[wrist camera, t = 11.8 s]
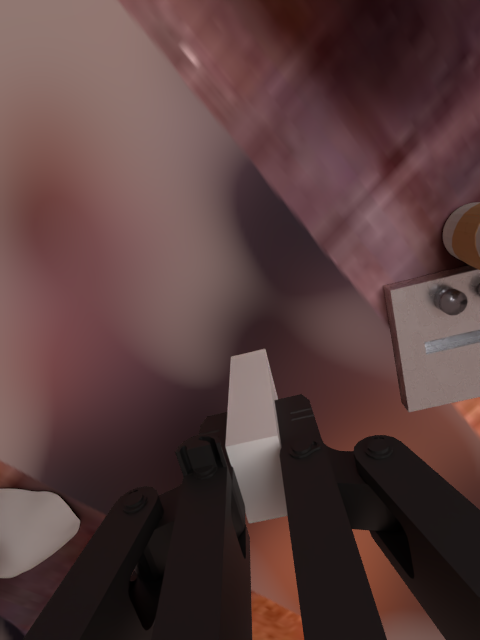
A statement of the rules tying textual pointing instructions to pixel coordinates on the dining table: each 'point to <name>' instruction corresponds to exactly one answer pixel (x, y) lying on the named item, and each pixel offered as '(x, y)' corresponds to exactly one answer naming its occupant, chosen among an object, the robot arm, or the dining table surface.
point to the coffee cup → (464, 234)
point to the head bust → (32, 528)
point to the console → (436, 337)
